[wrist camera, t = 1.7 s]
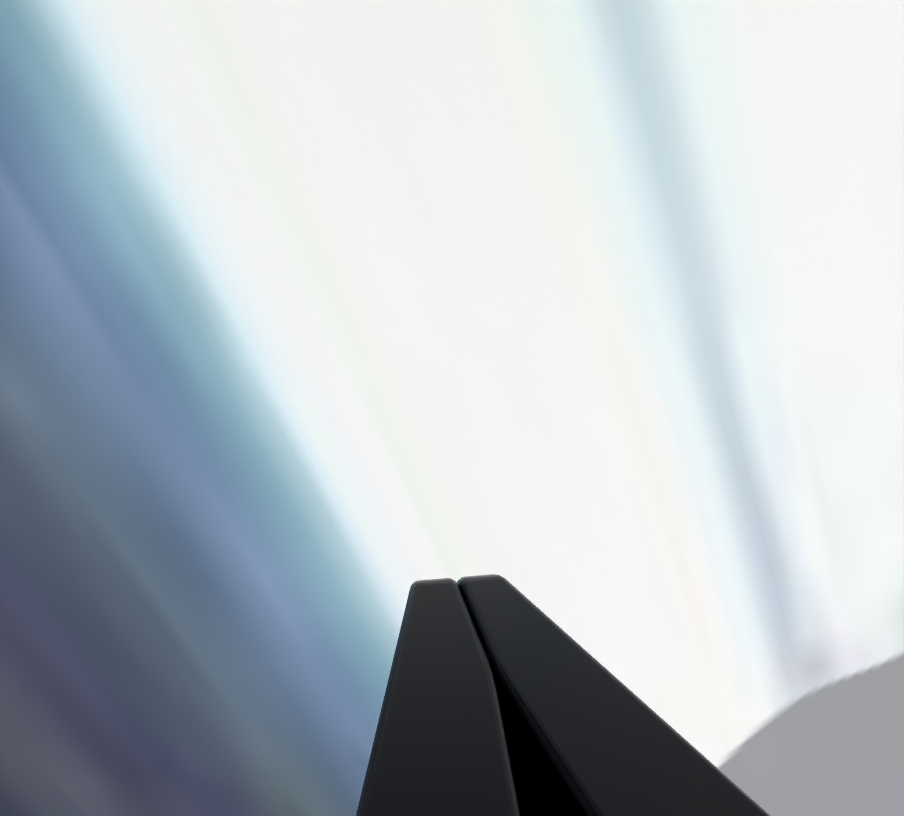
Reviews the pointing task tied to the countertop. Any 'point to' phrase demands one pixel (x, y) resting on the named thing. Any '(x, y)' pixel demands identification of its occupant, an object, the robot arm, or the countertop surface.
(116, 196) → the countertop surface
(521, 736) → the robot arm
